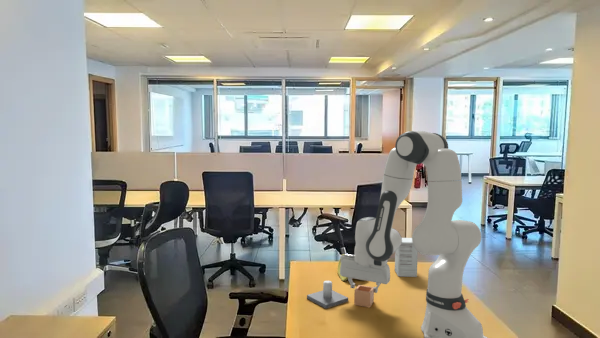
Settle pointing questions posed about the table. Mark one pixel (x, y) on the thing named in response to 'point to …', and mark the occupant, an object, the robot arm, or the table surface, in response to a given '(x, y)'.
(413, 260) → the supplement box
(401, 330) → the table surface
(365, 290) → the sleeve
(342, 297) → the base
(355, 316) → the table surface
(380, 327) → the table surface
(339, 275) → the plastic component
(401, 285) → the table surface
